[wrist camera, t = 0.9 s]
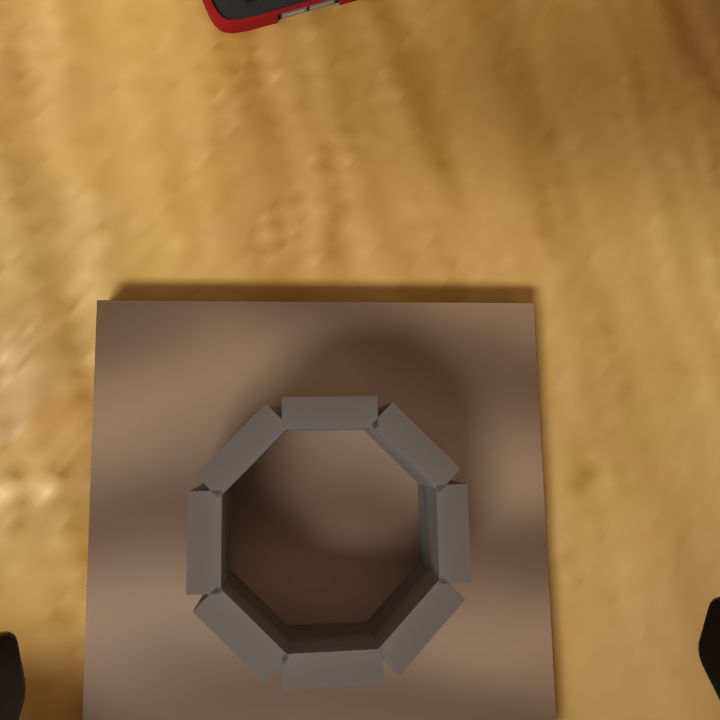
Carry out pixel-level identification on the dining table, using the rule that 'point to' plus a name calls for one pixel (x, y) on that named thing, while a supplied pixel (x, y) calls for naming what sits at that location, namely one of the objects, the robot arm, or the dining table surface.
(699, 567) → the dining table surface
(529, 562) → the roll holder stand
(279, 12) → the cell phone
